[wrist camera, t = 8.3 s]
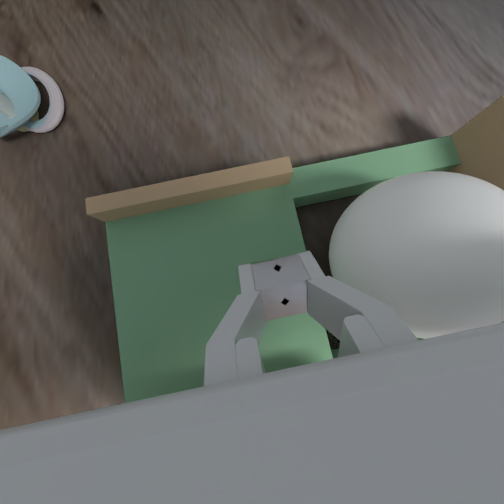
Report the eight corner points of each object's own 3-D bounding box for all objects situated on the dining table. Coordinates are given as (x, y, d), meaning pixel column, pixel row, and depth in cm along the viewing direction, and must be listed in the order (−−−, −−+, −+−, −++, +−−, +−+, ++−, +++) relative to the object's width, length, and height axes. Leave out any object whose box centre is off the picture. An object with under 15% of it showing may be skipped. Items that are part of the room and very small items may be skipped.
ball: (291, 194, 10) (333, 217, 17) (332, 366, 9) (360, 319, 16) (547, 84, 6) (470, 172, 13) (684, 384, 5) (520, 309, 12)
